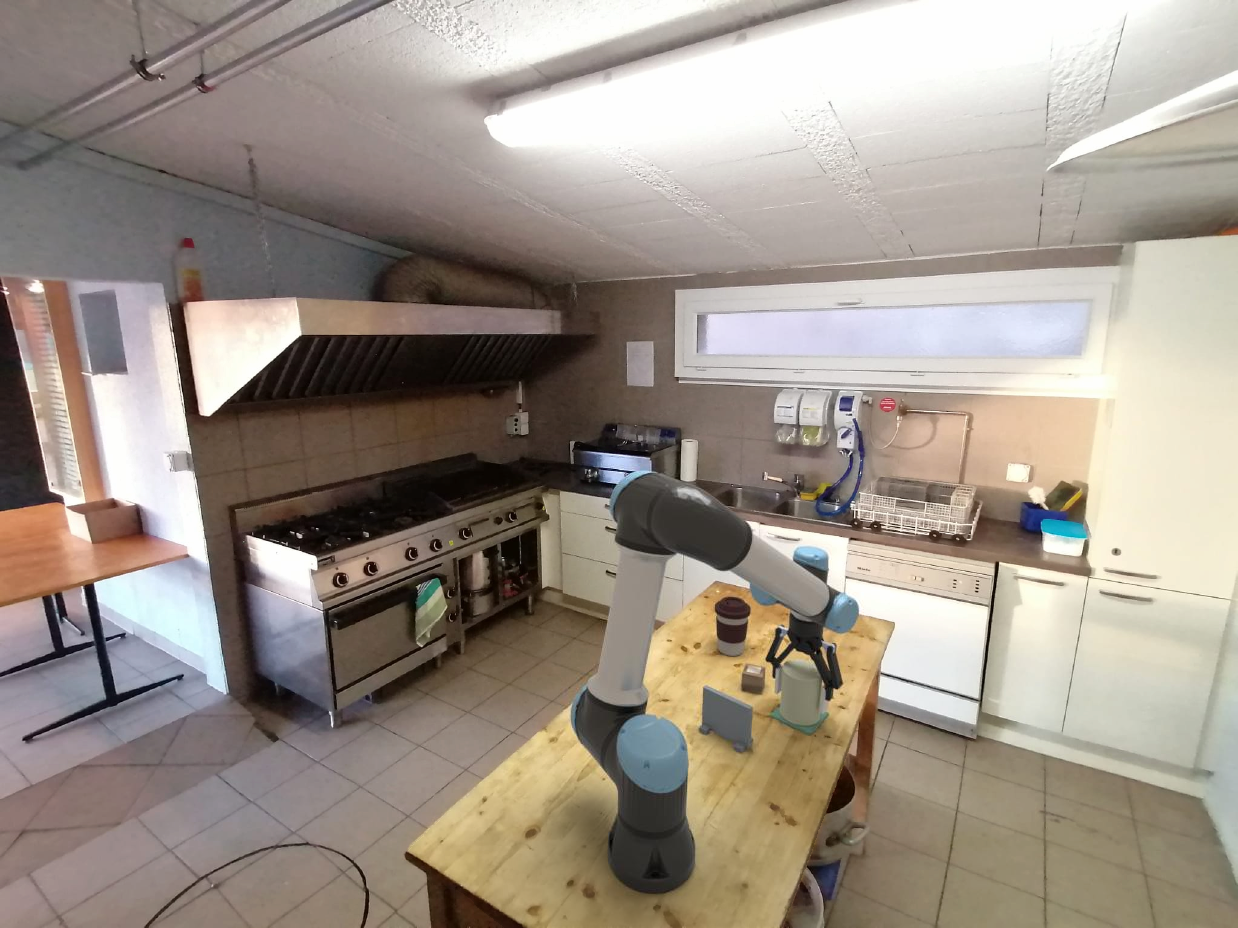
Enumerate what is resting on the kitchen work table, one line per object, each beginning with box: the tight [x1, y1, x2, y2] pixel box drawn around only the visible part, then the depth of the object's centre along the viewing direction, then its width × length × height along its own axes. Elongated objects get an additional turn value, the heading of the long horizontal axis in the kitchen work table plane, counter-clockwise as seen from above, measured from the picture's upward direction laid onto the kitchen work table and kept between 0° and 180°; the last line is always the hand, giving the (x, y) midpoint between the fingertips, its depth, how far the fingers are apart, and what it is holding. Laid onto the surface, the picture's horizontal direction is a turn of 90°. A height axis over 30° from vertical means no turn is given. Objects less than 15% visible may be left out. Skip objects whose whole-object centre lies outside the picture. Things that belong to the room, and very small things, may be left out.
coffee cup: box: [714, 596, 752, 657], centre depth 167 cm, size 10×10×15 cm
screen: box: [698, 684, 754, 754], centre depth 131 cm, size 5×12×10 cm, turn 48°
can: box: [778, 658, 823, 726], centre depth 138 cm, size 9×9×12 cm
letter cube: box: [740, 662, 766, 696], centre depth 150 cm, size 5×5×5 cm
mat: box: [769, 705, 830, 737], centre depth 139 cm, size 10×10×1 cm
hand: (800, 700), depth 139 cm, fingers open, 11 cm apart
